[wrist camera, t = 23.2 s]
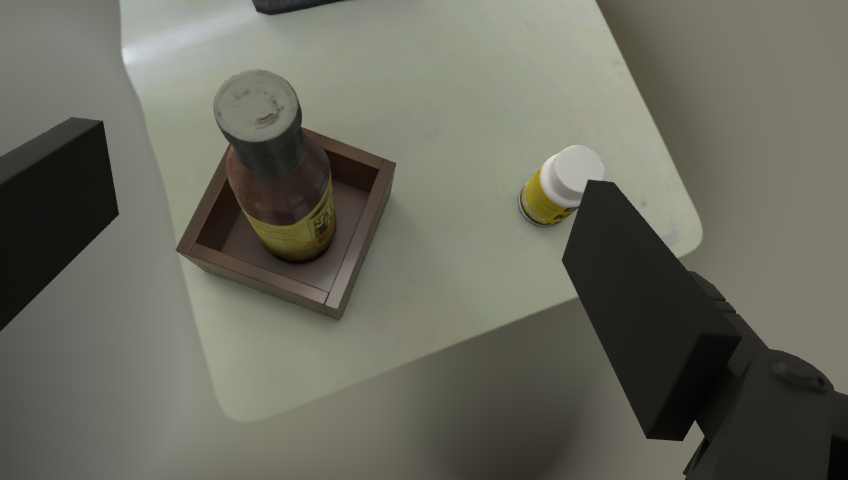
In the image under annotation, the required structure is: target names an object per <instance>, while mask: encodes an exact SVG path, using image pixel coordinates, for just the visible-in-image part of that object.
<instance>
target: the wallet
mask: <svg viewBox="0 0 848 480" xmlns="http://www.w3.org/2000/svg"><path fill="white" fill-rule="evenodd" d="M252 1H253V3H254V5H255V7H256V9H257V11H259V12H263V13H266V14H275V13H282V12H288V11H293V10H297V9H302V8H306V7H311V6H315V5H320V4H325V3H329V2H334V1H339V0H252Z"/></svg>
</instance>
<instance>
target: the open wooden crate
mask: <svg viewBox="0 0 848 480" xmlns="http://www.w3.org/2000/svg"><path fill="white" fill-rule="evenodd" d="M301 128H302V127H301ZM302 129H303V132H304V133H306V134H307V135H308V136H309V137H310V138H311V139H312V140H314V141H315V142H316V143H318V144H319V145H320V146H321V147H322V148H323V150H324V151H325V153H326V155H327V157H328V160H329V164H330V171H331V179H332V187H333V194H334V204H335V212H336V231H335V235H334V237H333V239H332V242H331V244H330V246H329V247H328V249H327V250H326V252H325V253H323V254H321V255H320V256H319V257H318V258H316V259H314V260H312V261H309V262H304V263H294V262H290V261H286V260H283V259H279V258H278V257H277V256H275V255H274V254H273V253H272V252H270V251H269V250H268V249H267V248H266V247H265V245H264V244H263V243H262V241H261V239H260V238H259V236H258V235H257V233H256V231H255V230H254V228H253V226H252V225H251V223H250V221H249V220H248V218H247V216H246V215H245V213H244V212H243V210H242V208H241V207H240V205H239V203H238V201H237V199H236V197H235V193H234V191H233V190H232V188H231V185H230V184H229V180H228V176H227V172H226V160H227V156H228V152H229V150H230V147H231V145H232V144H231V143H230V144H229V146H228V148H227V150H226V152H225V154H224V156H223V158H222V159H221V161H220V163H219V165H218V167H217V169H216V171H215V173H214V175H213V177H212V179H211V181H210V183H209V185H208V187H207V189H206V191H205V193H204V195H203V197H202V199H201V201H200V203H199V205H198V207H197V209H196V211H195V213H194V215H193V217H192V219H191V220H190V222H189V224H188V226H187V228H186V230H185V232H184V234H183V236H182V238H181V240H180V242H179V244H178V246H177V248H176V251H177V252H179V253H180V254H181V255H183V256H184V257H186V258H187V259H189V260H190V261H191V262H193V263H194V264H196V265H197V266H199V267H200V268H202V269H203V270H205V271H208V272H210V273H213V274H216V275H218V276H221V277H224V278H227V279H229V280H232V281H235V282H237V283H240V284H243V285H246V286H248V287H251V288H254V289H256V290H259V291H262V292H265V293H267V294H270V295H273V296H275V297H278V298H281V299H284V300H286V301H289V302H292V303H294V304H297V305H300V306H303V307H305V308H308V309H311V310H313V311H316V312H319V313H321V314H324V315H327V316H330V317H332V318H335V319H338V320H340V319H341V317H342V314H343V312H344V309H345V307H346V304H347V302H348V299H349V297H350V294H351V292H352V289H353V287H354V284H355V282H356V279H357V277H358V274H359V272H360V269H361V266H362V264H363V261H364V259H365V256H366V254H367V251H368V249H369V246H370V244H371V241H372V239H373V236H374V234H375V231H376V229H377V226H378V224H379V221H380V218H381V216H382V213H383V211H384V208H385V206H386V203H387V201H388V198H389V196H390V192H391V188H392V182H393V177H394V172H395V167H396V163H394V162H392V161H389V160H386V159H384V158H381V157H379V156H376V155H373V154H371V153H368V152H365V151H363V150H360V149H358V148H355V147H352V146H350V145H347V144H344V143H342V142H339V141H337V140H334V139H331V138H329V137H326V136H323V135H321V134H318V133H316V132H313V131H310V130H308V129H305V128H302Z"/></svg>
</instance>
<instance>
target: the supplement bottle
mask: <svg viewBox="0 0 848 480" xmlns="http://www.w3.org/2000/svg"><path fill="white" fill-rule="evenodd" d="M604 173H605V172H604V165H603V162H602V160H601V159H600V157H599V156H598V155H597V154H596V153H595V152H594V151H593V150H591V149H589V148H587V147H585V146H581V145H574V146H569V147H567V148H565V149H564V150H562V151H561V152H560V153H559V154H556V155H553V156H552V157H550V158H549V159H548V160H547V161H546V162H545V163H544V164H543V165H542V166H541V167H540V169H539V170H538V171H537V172H536V173H535V174H534V175H533V176H532V177H531V178H530V180H529V181H528V182H527V183H526V184H525V185H524V186H523V188H522V189H521V192H520V195H519V206H520V209H521V211H522V213H523V215H524V216H525V217H526V218H527V219H528V220H529V221H530V222H532V223H533V224H536V225H538V226H543V227H548V226H553V225H556V224H558V223H559V222H561V221H562V220H563V219H565V218H566V217H567V216H569V215H570V214H571V213H573V212H574V211H575V210H577V209H578V208H579V205H580V202H581V199H582V196H583V193H584V190H585V187H586V184H587V181H588V179H590V180H598V181H603V179H604Z"/></svg>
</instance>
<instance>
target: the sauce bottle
mask: <svg viewBox="0 0 848 480" xmlns="http://www.w3.org/2000/svg"><path fill="white" fill-rule="evenodd" d="M214 114H215V119H216V121H217V124H218V126H219V128H220V129H221V132H222V133H223V135H224V136H225V138H226V139H227V140H228V142H229V143H231V144H232V145H231V147H230V150H229V152H228V156H227V160H226V172H227V176H228V180H229V184H230V185H231V188H232V190H233V191H234V193H235V197H236V199H237V201H238V203H239V205H240V207H241V208H242V210H243V212H244V213H245V215H246V216H247V218H248V220H249V221H250V223H251V225H252V226H253V228H254V230H255V231H256V233H257V235H258V236H259V238H260V239H261V241H262V243H263V244H264V245H265V247H266V248H267V249H268V250H269V251H270V252H272V253H273V254H274V255H275V256H277V257H278V258H279V259H283V260H286V261H290V262H294V263H304V262H309V261H312V260H314V259H316V258H318V257H319V256H320V255H321V254H323V253H325V252H326V250H327V249H328V247H329V246H330V244H331V242H332V239H333V237H334V235H335V231H336V212H335V204H334V194H333V187H332V179H331V171H330V164H329V160H328V157H327V155H326V153H325V151H324V150H323V148H322V147H321V146H320V145H319V144H318V143H316V142H315V141H314V140H312V139H311V138H310V137H309V136H308V135H307V134H306V133H304V132H303V129H302V128H301V122H302V111H301V107H300V104H299V100H298V98H297V95H296V93H295V91H294V89H293V88H292V87H291V85H290V84H289V82H288V81H286V80H285V79H283V78H282V77H280V76H278V75H276V74H274V73H272V72H269V71H263V70H248V71H243V72H240V73H238V74H236V75H234V76H232V77H231V78H230V79H228V80H226V81H225V82H224V83H223V85H222V86H221V87H220V88H219V90H218V92H217V94H216V96H215V99H214Z"/></svg>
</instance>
